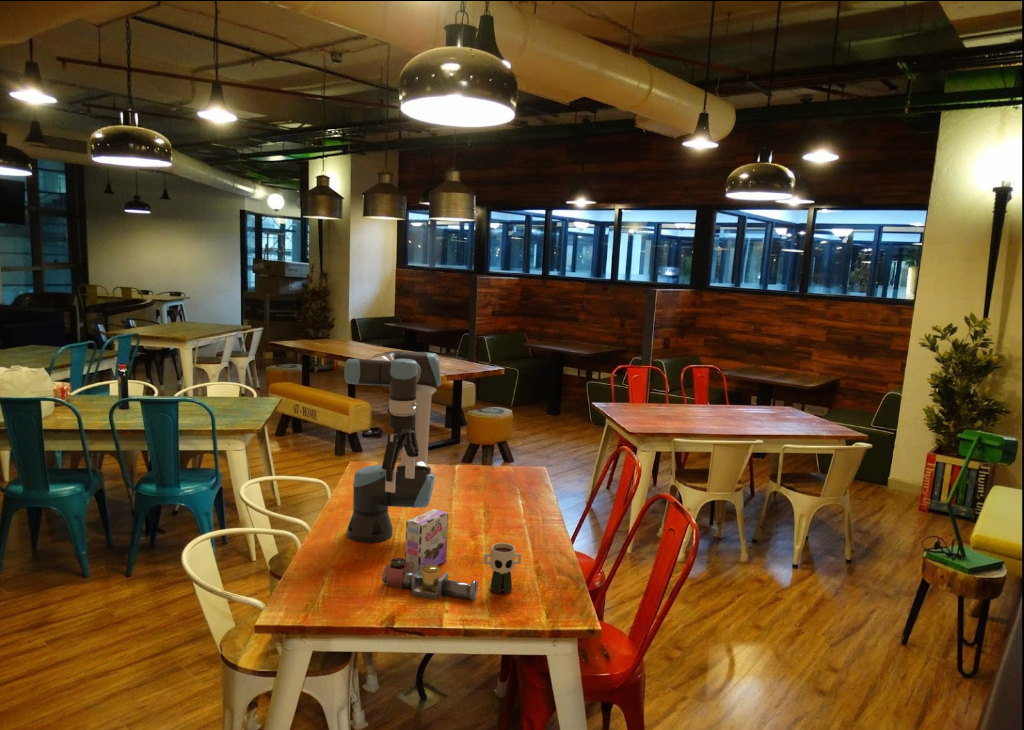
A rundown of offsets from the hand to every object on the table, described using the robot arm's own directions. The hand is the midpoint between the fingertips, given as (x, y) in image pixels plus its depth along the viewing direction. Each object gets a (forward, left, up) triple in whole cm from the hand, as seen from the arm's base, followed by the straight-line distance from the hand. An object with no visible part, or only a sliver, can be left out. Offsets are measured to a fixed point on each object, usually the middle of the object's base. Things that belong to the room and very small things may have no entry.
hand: (400, 484), depth 203 cm
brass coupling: (+12, -4, -29) cm, 31 cm away
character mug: (+31, +4, -29) cm, 43 cm away
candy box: (+5, +10, -29) cm, 31 cm away
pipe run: (+12, -4, -29) cm, 31 cm away
